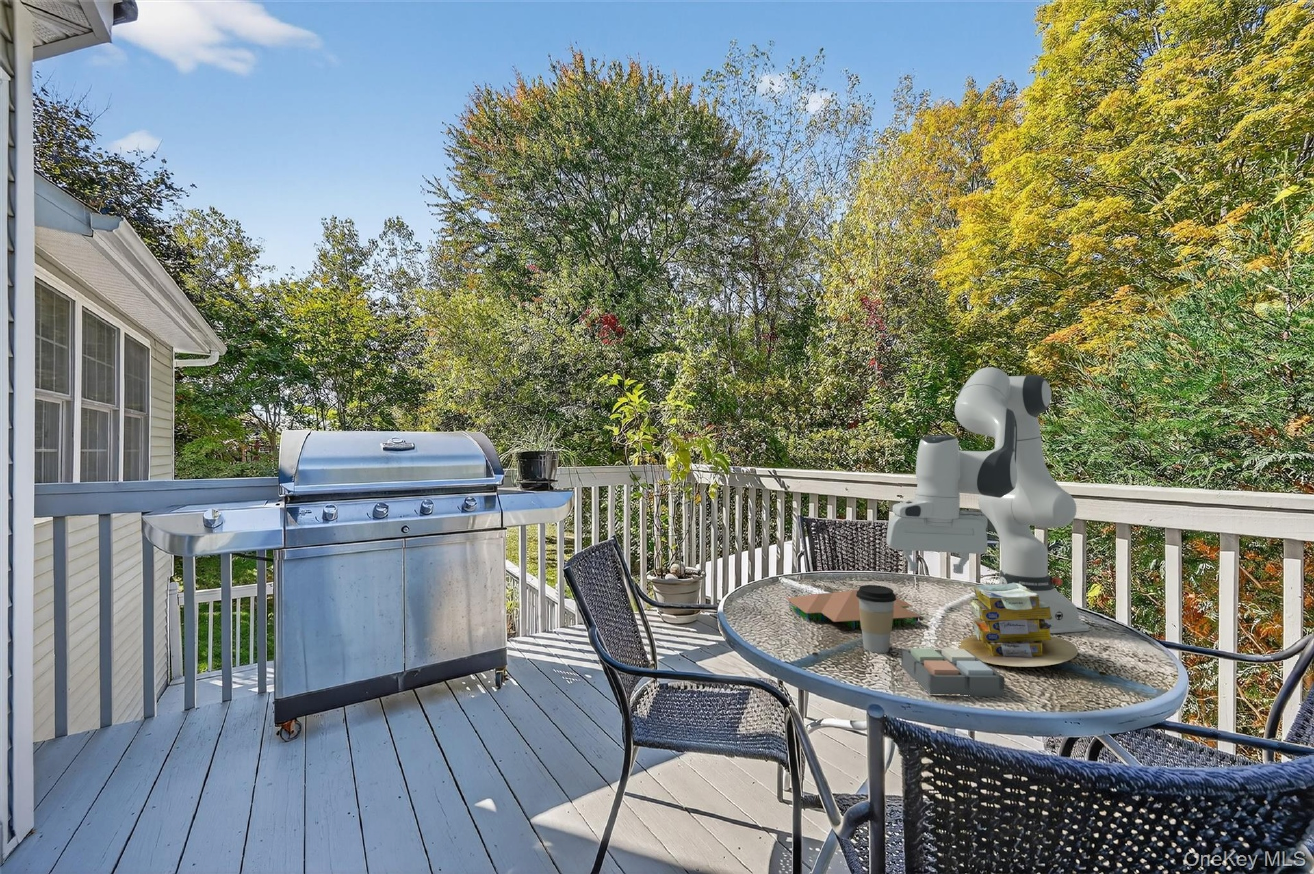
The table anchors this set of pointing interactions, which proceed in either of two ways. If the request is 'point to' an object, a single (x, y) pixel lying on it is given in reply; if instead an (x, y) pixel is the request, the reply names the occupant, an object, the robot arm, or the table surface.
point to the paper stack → (1014, 628)
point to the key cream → (957, 655)
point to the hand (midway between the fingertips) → (935, 571)
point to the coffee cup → (876, 616)
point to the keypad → (952, 678)
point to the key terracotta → (940, 667)
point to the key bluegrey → (974, 668)
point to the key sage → (926, 654)
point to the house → (842, 607)
